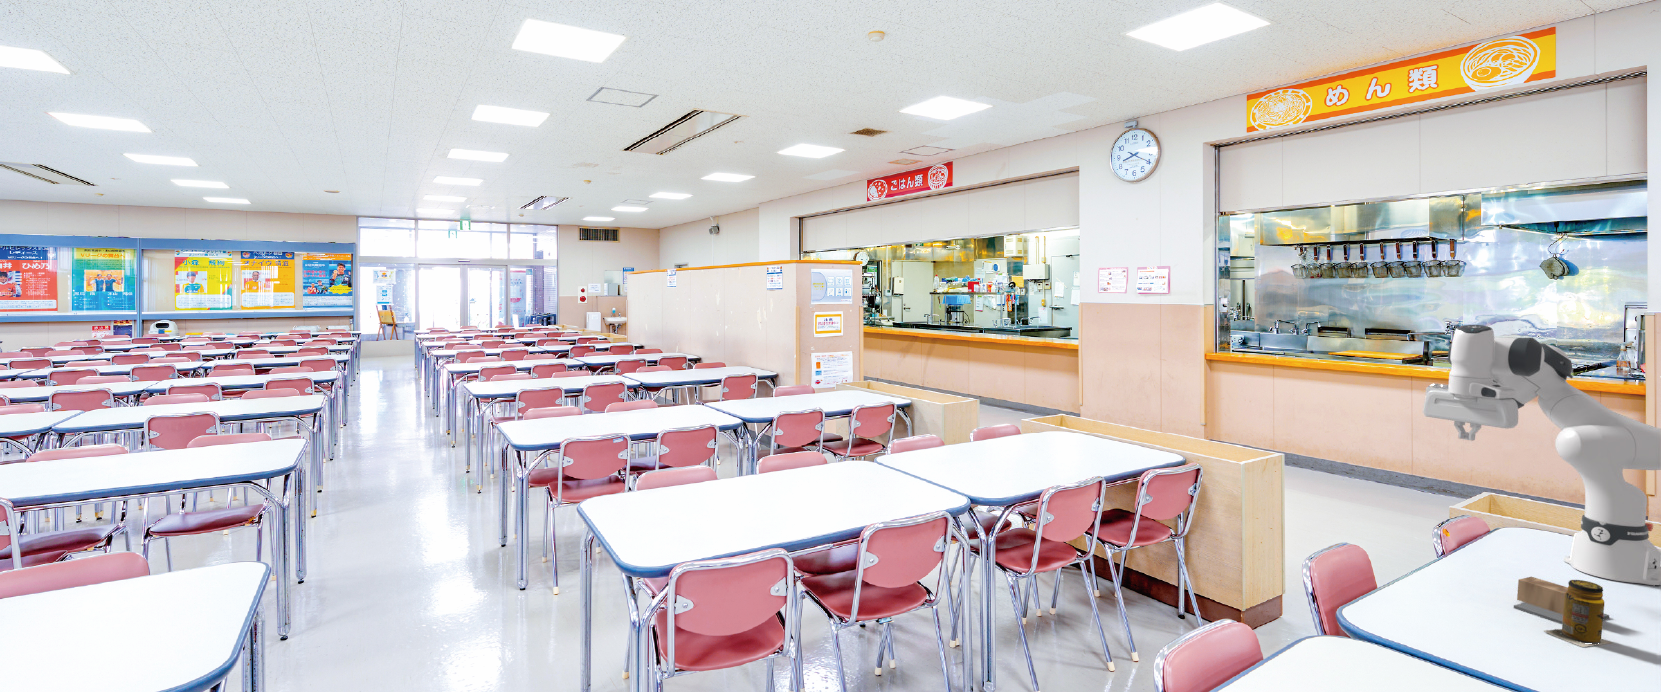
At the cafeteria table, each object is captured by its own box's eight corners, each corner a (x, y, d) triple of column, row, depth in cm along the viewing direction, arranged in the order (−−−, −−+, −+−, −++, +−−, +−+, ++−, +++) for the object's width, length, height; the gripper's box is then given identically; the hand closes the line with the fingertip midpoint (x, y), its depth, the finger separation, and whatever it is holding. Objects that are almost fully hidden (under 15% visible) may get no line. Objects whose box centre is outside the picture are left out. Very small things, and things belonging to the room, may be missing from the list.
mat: (1549, 598, 182) (1549, 596, 182) (1609, 617, 172) (1609, 615, 171) (1513, 607, 177) (1513, 605, 177) (1573, 627, 167) (1573, 625, 167)
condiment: (1612, 643, 159) (1617, 588, 158) (1582, 647, 158) (1587, 592, 157) (1571, 628, 167) (1576, 575, 166) (1542, 632, 165) (1547, 579, 164)
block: (1531, 576, 181) (1601, 597, 169) (1529, 596, 182) (1600, 618, 170) (1518, 579, 180) (1589, 600, 167) (1517, 599, 180) (1587, 622, 168)
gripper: (1419, 383, 205) (1416, 433, 207) (1508, 393, 186) (1504, 448, 187) (1434, 382, 208) (1431, 431, 209) (1524, 391, 189) (1520, 446, 190)
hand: (1466, 439), depth 198 cm, fingers closed
